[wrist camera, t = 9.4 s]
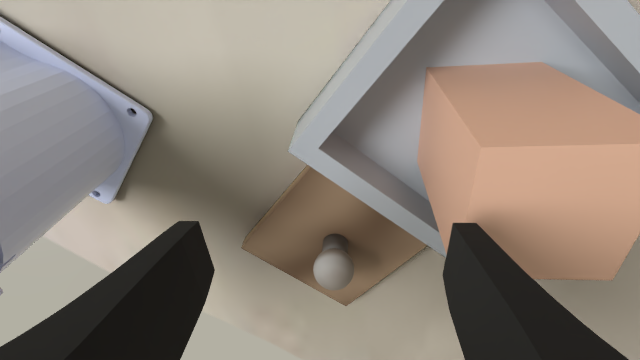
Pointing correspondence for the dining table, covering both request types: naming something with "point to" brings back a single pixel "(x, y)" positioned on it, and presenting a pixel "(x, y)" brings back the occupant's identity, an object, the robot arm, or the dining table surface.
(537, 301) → the robot arm
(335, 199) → the stud plate
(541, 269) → the salmon brown block
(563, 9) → the bin
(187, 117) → the dining table surface
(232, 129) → the dining table surface
